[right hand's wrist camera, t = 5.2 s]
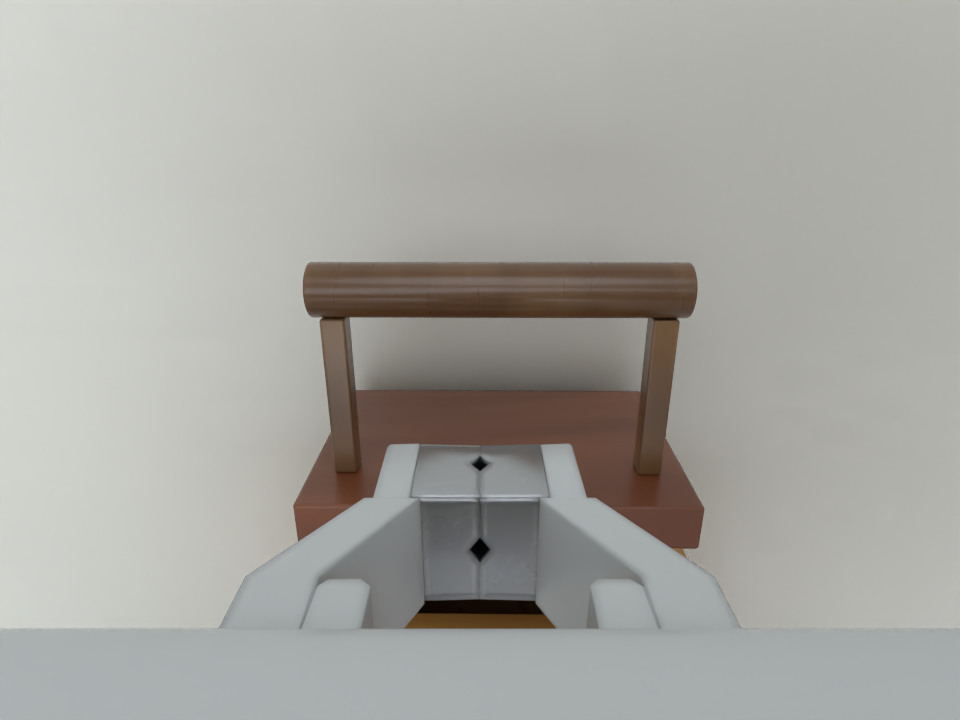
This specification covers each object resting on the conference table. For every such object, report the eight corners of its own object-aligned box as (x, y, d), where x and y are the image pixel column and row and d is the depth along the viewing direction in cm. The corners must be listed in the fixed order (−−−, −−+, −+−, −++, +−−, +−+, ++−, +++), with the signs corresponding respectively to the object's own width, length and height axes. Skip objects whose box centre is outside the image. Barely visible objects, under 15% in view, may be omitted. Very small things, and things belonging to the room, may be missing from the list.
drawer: (337, 227, 19) (261, 281, 12) (657, 227, 18) (742, 281, 12) (380, 718, 26) (346, 902, 20) (605, 721, 26) (642, 908, 20)
